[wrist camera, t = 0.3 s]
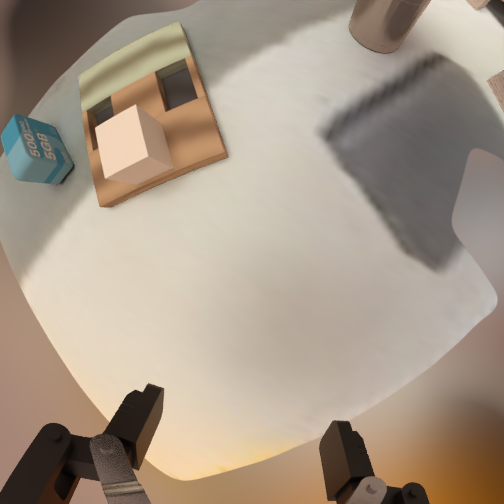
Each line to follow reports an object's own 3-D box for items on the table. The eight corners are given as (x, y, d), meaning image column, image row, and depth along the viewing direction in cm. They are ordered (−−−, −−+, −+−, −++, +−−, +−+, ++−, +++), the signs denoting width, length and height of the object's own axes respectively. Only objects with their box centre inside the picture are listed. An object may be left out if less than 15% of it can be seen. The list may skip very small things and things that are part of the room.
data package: (76, 167, 40) (28, 158, 28) (61, 185, 40) (13, 181, 29) (55, 126, 39) (12, 111, 27) (41, 143, 40) (-1, 132, 28)
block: (174, 168, 35) (148, 156, 27) (136, 185, 36) (104, 178, 28) (161, 123, 35) (135, 104, 27) (125, 141, 35) (95, 127, 27)
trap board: (228, 156, 37) (224, 152, 34) (110, 207, 40) (99, 207, 37) (184, 30, 35) (179, 20, 32) (87, 81, 38) (78, 75, 35)
